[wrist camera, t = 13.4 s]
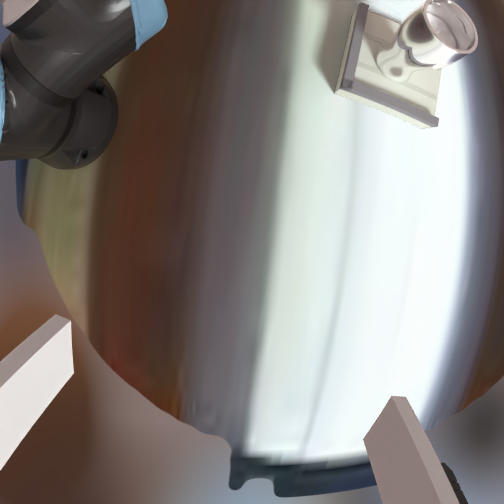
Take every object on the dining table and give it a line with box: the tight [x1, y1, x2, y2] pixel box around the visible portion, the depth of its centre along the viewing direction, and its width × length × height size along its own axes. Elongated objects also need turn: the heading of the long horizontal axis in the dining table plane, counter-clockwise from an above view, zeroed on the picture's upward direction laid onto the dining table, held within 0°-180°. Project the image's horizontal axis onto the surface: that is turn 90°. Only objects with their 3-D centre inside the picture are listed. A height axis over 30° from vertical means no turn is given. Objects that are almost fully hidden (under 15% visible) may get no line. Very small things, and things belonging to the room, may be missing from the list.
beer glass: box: [376, 0, 478, 83], centre depth 25 cm, size 7×7×15 cm
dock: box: [334, 2, 441, 129], centre depth 33 cm, size 14×14×4 cm
